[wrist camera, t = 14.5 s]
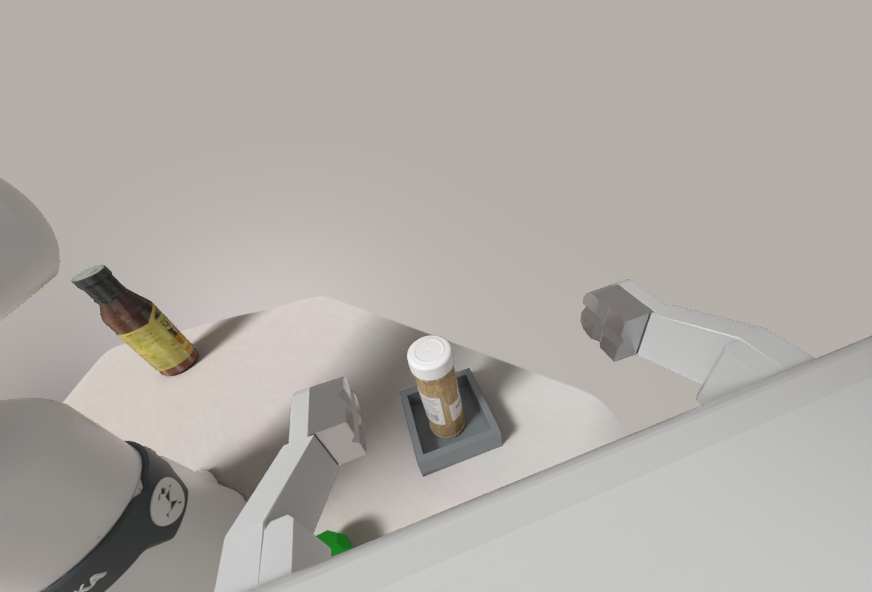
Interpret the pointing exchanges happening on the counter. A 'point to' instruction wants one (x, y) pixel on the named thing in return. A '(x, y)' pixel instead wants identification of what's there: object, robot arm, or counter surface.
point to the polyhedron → (335, 542)
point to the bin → (469, 443)
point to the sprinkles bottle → (437, 384)
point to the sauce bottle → (137, 322)
